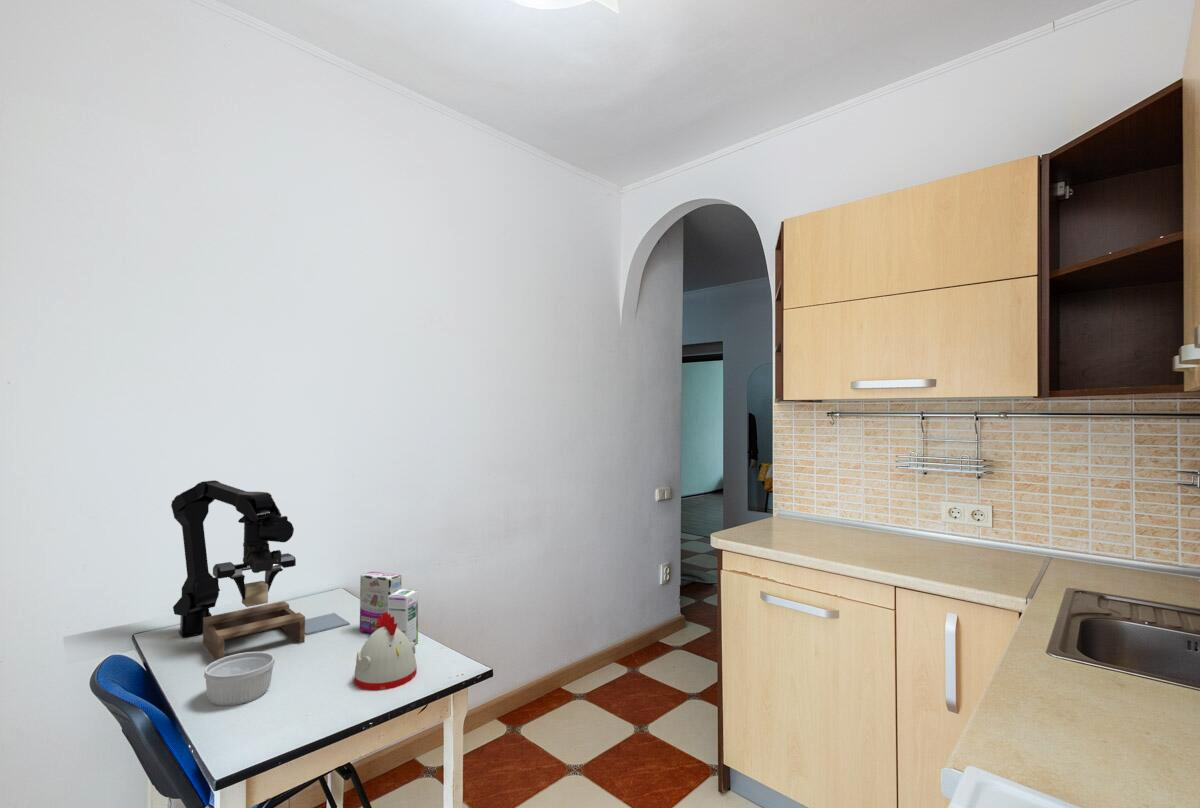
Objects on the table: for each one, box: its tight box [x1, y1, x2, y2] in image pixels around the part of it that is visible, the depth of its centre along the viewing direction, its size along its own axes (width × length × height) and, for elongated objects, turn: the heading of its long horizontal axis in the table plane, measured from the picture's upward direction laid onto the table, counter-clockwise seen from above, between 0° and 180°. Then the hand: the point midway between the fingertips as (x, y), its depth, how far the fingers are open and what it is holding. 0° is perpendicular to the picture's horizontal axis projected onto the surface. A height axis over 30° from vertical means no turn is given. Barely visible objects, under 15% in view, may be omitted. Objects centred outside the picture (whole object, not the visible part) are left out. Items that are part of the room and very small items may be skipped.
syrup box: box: [388, 588, 419, 645], centre depth 153 cm, size 6×6×14 cm
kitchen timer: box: [353, 612, 418, 691], centre depth 136 cm, size 14×14×15 cm
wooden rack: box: [202, 600, 306, 661], centre depth 155 cm, size 20×18×7 cm
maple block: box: [241, 580, 269, 608], centre depth 155 cm, size 5×5×5 cm
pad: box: [305, 612, 350, 636], centre depth 169 cm, size 12×12×1 cm
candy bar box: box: [359, 571, 402, 635], centre depth 163 cm, size 11×5×16 cm, turn 68°
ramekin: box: [203, 651, 275, 707], centre depth 126 cm, size 13×13×7 cm
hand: (254, 597), depth 155 cm, fingers closed on maple block, 5 cm apart
